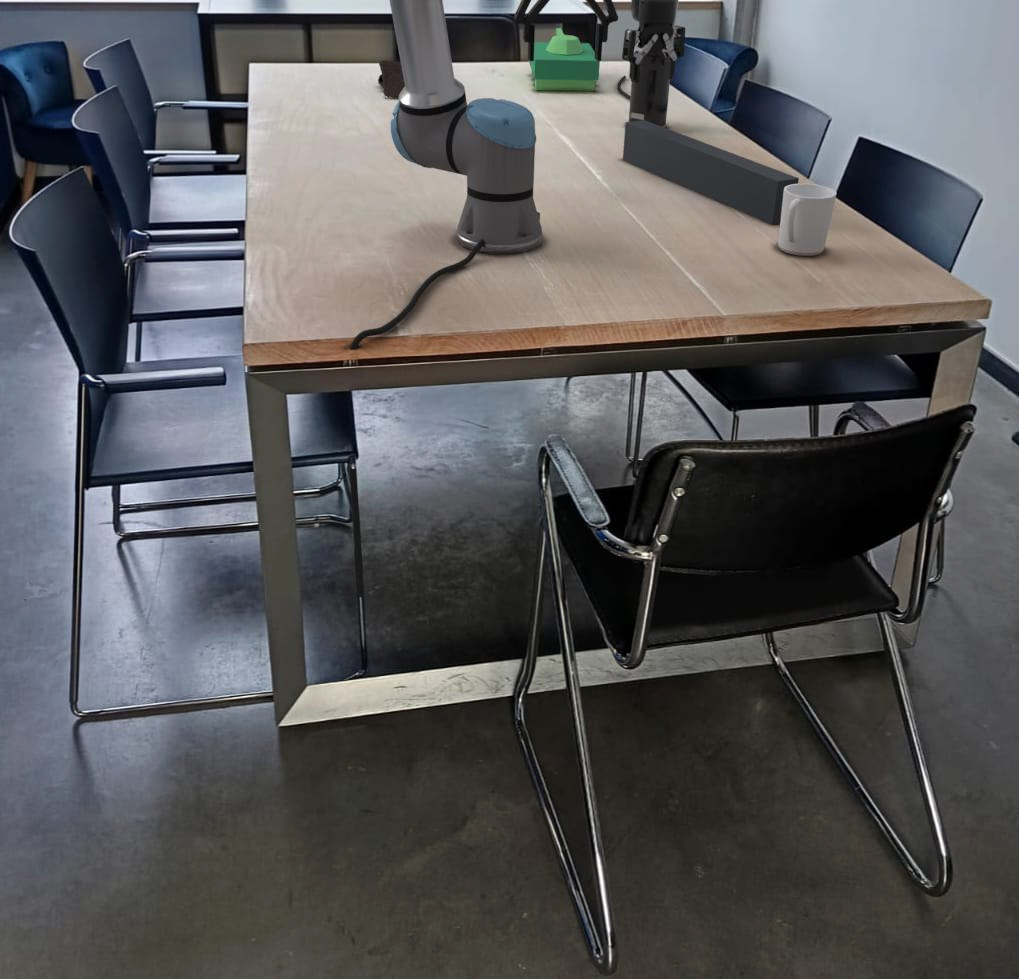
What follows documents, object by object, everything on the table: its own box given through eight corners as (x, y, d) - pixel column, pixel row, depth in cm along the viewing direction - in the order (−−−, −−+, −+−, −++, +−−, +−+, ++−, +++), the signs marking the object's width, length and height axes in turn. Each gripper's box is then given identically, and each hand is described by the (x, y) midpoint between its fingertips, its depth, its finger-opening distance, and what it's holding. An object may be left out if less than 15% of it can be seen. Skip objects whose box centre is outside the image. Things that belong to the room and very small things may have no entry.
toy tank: (587, 25, 326) (600, 46, 296) (584, 68, 332) (597, 93, 303) (528, 24, 325) (535, 44, 295) (526, 67, 331) (534, 92, 302)
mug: (789, 236, 200) (798, 180, 195) (834, 247, 195) (845, 190, 190) (760, 251, 193) (769, 193, 188) (807, 263, 188) (817, 204, 183)
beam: (792, 221, 209) (799, 178, 205) (772, 224, 207) (778, 181, 203) (641, 157, 246) (644, 119, 242) (622, 159, 244) (625, 122, 240)
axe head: (443, 87, 294) (392, 77, 287) (436, 115, 299) (385, 106, 292) (421, 62, 307) (371, 52, 300) (414, 89, 311) (365, 80, 304)
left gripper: (629, -61, 211) (620, 56, 222) (501, -62, 208) (499, 56, 219) (639, -57, 205) (630, 63, 216) (507, -59, 201) (505, 63, 212)
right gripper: (675, -7, 230) (668, 74, 238) (619, -4, 224) (613, 79, 232) (697, -2, 224) (688, 81, 233) (639, 1, 218) (633, 86, 227)
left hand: (564, 60), depth 217 cm, fingers open, 13 cm apart
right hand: (651, 80), depth 232 cm, fingers open, 8 cm apart
